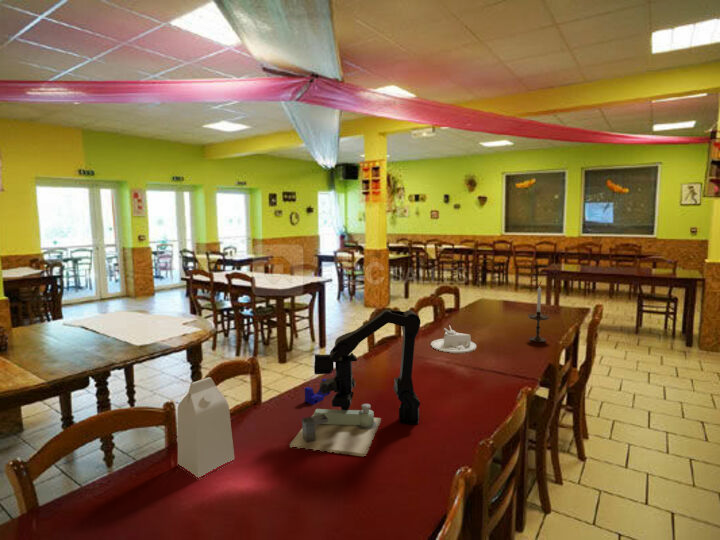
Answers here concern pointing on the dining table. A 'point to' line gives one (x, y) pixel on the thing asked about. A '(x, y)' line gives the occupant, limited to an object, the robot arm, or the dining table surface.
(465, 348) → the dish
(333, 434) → the base board
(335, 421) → the latch bar
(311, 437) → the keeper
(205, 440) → the milk
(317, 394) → the cable clip
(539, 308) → the candlestick
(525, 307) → the dining table surface
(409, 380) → the robot arm
